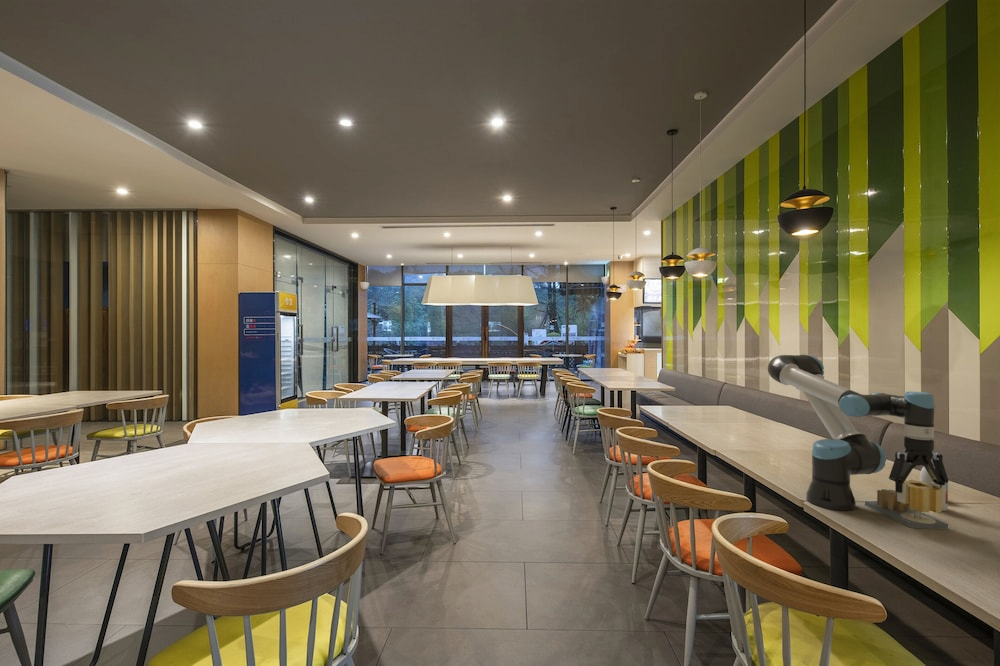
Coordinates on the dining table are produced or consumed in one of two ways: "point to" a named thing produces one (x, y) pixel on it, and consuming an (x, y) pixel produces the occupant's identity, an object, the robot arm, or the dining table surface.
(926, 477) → the milk bottle
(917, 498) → the gear
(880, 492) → the gear board
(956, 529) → the dining table surface
